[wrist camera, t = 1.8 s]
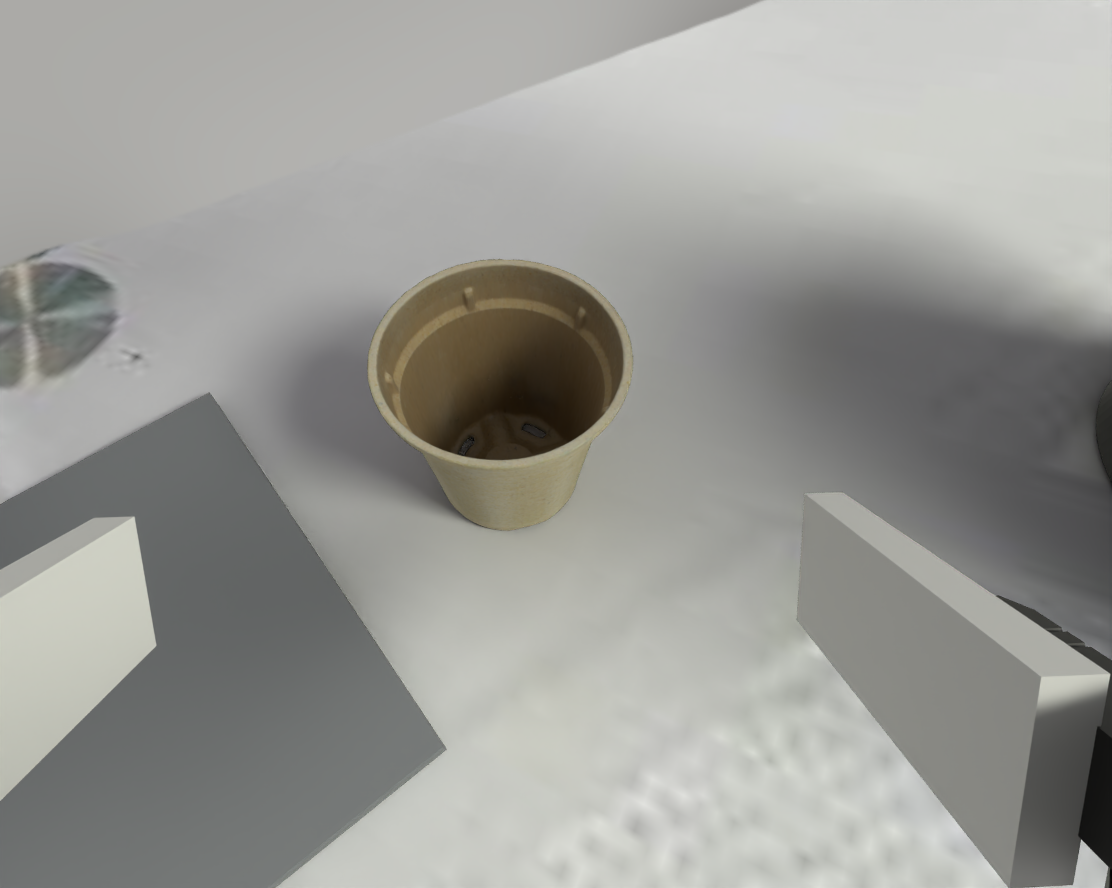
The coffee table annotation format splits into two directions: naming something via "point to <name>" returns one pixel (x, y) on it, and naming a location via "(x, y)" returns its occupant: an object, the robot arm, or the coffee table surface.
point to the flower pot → (501, 383)
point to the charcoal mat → (208, 684)
